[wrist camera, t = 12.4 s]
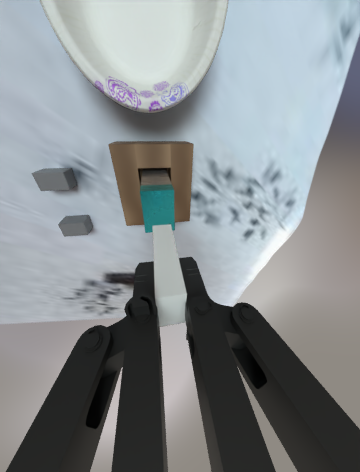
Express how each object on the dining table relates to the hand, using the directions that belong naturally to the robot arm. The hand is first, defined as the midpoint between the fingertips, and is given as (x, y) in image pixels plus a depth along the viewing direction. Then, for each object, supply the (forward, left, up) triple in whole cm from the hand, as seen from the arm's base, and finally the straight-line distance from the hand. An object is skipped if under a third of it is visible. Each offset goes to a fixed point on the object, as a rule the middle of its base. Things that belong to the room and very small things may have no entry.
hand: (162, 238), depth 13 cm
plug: (0, 0, -17) cm, 17 cm away
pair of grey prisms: (-15, -3, -18) cm, 24 cm away
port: (0, 0, -18) cm, 18 cm away
